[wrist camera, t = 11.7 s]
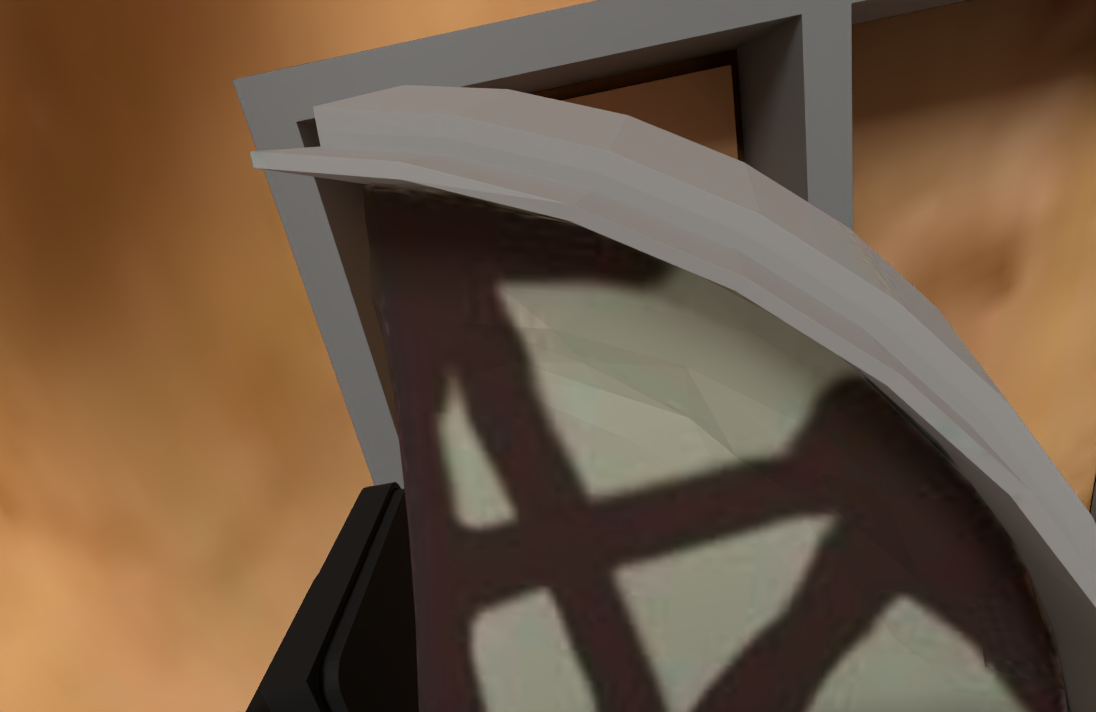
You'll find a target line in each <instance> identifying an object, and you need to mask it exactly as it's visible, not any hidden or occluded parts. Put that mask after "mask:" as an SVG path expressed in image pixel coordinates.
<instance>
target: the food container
mask: <svg viewBox="0 0 1096 712" xmlns="http://www.w3.org/2000/svg"><path fill="white" fill-rule="evenodd" d="M313 109H314V115H315V120H316V126H317V131H318V136H319V141H320V146H321V147H306V148H292V149H277V150H263V151H250V154H251V159H252V163H253V168H257V169H264V170H271V171H278V172H285V173H292V174H299V175H305V176H312V177H319V178H326V179H333V180H340V181H347V182H354V183H361V184H367V186H364V187H363V191H364V205H365V220H366V227H367V233H368V240H369V247H370V296H371V300H372V303H373V306H374V309H375V313H376V316H377V319H378V322H379V326H380V329H381V332H382V336H383V339H384V344H385V350H386V356H387V361H388V367H389V372H390V378H391V384H392V389H393V395H394V401H395V410H396V419H397V428H398V437H399V445H400V454H401V463H402V472H403V481H404V490H405V499H406V508H407V517H408V527H409V540H410V553H411V567H412V580H413V593H414V606H415V620H416V646H417V672H418V699H419V712H1096V524H1095V521H1094V519H1093V517H1092V515H1091V514H1090V513H1089V511H1088V510H1087V508H1086V507H1085V506H1084V504H1083V503H1082V502H1081V500H1080V499H1079V498H1078V496H1077V495H1076V493H1075V492H1074V491H1073V489H1072V488H1071V487H1070V485H1069V484H1068V483H1067V481H1066V480H1065V478H1064V477H1063V476H1062V474H1061V473H1060V472H1059V470H1058V469H1057V468H1056V466H1055V465H1054V463H1053V462H1052V461H1051V459H1050V458H1049V457H1048V455H1047V454H1046V453H1045V451H1044V450H1043V448H1042V447H1041V446H1040V444H1039V443H1038V442H1037V440H1036V439H1035V438H1034V436H1033V435H1032V433H1031V432H1030V431H1029V429H1028V428H1027V427H1026V425H1025V424H1024V423H1023V421H1022V420H1021V418H1020V417H1019V416H1018V414H1017V413H1016V412H1015V410H1014V409H1013V408H1012V406H1011V405H1010V404H1009V402H1008V401H1007V400H1006V398H1005V397H1004V396H1003V394H1002V393H1001V392H1000V390H999V389H998V388H997V386H996V385H995V384H994V382H993V381H992V380H991V378H990V377H989V376H988V374H987V373H986V372H985V370H984V369H983V368H982V366H981V365H980V364H979V362H978V361H977V360H976V358H975V357H974V356H973V354H972V353H971V352H970V350H969V349H968V348H967V346H966V345H965V344H964V342H963V341H962V340H961V338H960V337H959V336H958V334H957V333H956V332H955V330H954V329H953V328H952V326H951V325H950V324H949V322H948V321H947V320H946V318H945V317H944V316H943V314H942V313H941V312H940V310H939V309H938V308H937V307H936V306H935V305H934V304H933V303H931V302H930V301H929V300H928V299H927V298H926V297H925V296H924V295H923V294H922V293H920V292H919V291H918V290H917V289H916V288H915V287H914V286H913V285H912V284H911V283H909V282H908V281H907V280H906V279H905V278H904V277H903V276H902V275H901V274H900V273H898V272H897V271H896V270H895V269H894V268H893V267H892V266H891V265H890V264H889V263H887V262H886V261H885V260H884V259H883V258H882V257H881V256H880V255H879V254H878V253H876V252H875V251H874V250H873V249H872V248H871V247H870V246H869V245H868V244H866V243H865V242H864V241H863V240H862V239H861V238H860V237H859V236H858V235H857V234H855V233H854V232H853V231H852V230H851V229H850V228H848V227H847V226H845V225H844V224H842V223H840V222H839V221H837V220H836V219H834V218H832V217H831V216H829V215H828V214H826V213H824V212H823V211H821V210H820V209H818V208H816V207H815V206H813V205H812V204H810V203H808V202H807V201H805V200H804V199H802V198H800V197H799V196H797V195H796V194H794V193H792V192H791V191H789V190H788V189H786V188H784V187H783V186H781V185H780V184H778V183H776V182H775V181H773V180H772V179H770V178H768V177H767V176H765V175H764V174H762V173H760V172H759V171H757V170H756V169H754V168H752V167H751V166H749V165H748V164H746V163H744V162H742V161H739V160H737V159H735V158H732V157H730V156H727V155H725V154H722V153H720V152H717V151H715V150H712V149H710V148H707V147H705V146H703V145H700V144H698V143H695V142H693V141H690V140H688V139H685V138H683V137H680V136H678V135H675V134H673V133H671V132H668V131H666V130H663V129H661V128H658V127H656V126H653V125H651V124H648V123H646V122H643V121H641V120H639V119H636V118H634V117H631V116H629V115H625V114H620V113H615V112H611V111H606V110H602V109H597V108H592V107H588V106H583V105H578V104H574V103H569V102H565V101H560V100H555V99H551V98H546V97H542V96H537V95H532V94H528V93H523V92H519V91H514V90H509V89H491V88H467V87H442V86H418V85H402V86H397V87H393V88H389V89H385V90H381V91H376V92H372V93H368V94H364V95H360V96H355V97H351V98H347V99H343V100H339V101H334V102H330V103H326V104H322V105H318V106H313Z"/></svg>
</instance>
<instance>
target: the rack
mask: <svg viewBox="0 0 1096 712" xmlns="http://www.w3.org/2000/svg"><path fill="white" fill-rule="evenodd" d="M962 1H966V0H597V1H592V2H588V3H583V4H579V5H574V6H569V7H565V8H560V9H556V10H551V11H546V12H542V13H537V14H533V15H528V16H523V17H519V18H514V19H510V20H505V21H500V22H496V23H491V24H487V25H482V26H477V27H473V28H468V29H464V30H459V31H454V32H450V33H445V34H441V35H436V36H431V37H427V38H422V39H418V40H413V41H408V42H404V43H399V44H394V45H390V46H385V47H381V48H376V49H371V50H367V51H362V52H358V53H353V54H348V55H344V56H339V57H335V58H330V59H325V60H321V61H316V62H312V63H307V64H302V65H298V66H293V67H289V68H284V69H279V70H275V71H270V72H266V73H261V74H256V75H252V76H247V77H243V78H238V79H233V80H232V81H233V84H234V86H235V89H236V92H237V95H238V98H239V101H240V104H241V106H242V109H243V112H244V115H245V118H246V121H247V123H248V126H249V129H250V132H251V135H252V138H253V141H254V143H255V146H256V149H257V151H263V150H277V149H292V148H306V147H321V146H320V141H319V136H318V131H317V126H316V120H315V115H314V109H313V106H318V105H322V104H326V103H330V102H334V101H339V100H343V99H347V98H351V97H355V96H360V95H364V94H368V93H372V92H376V91H381V90H385V89H389V88H393V87H397V86H402V85H418V86H442V87H467V88H491V89H509V90H514V91H519V92H523V93H532V92H537V91H542V90H547V89H551V88H556V87H561V86H565V85H570V84H575V83H580V82H584V81H589V80H594V79H598V78H603V77H608V76H613V75H617V74H622V73H627V72H631V71H636V70H641V69H646V68H650V67H655V66H660V65H665V64H669V63H674V62H679V61H683V60H688V59H693V58H698V57H702V56H707V55H712V54H716V53H721V52H726V51H731V50H735V49H737V60H738V75H739V89H740V103H741V118H742V132H743V147H744V161H745V163H746V164H748V165H749V166H751V167H752V168H754V169H756V170H757V171H759V172H760V173H762V174H764V175H765V176H767V177H768V178H770V179H772V180H773V181H775V182H776V183H778V184H780V185H781V186H783V187H784V188H786V189H788V190H789V191H791V192H792V193H794V194H796V195H797V196H799V197H800V198H802V199H804V200H805V201H807V202H808V203H810V204H812V205H813V206H815V207H816V208H818V209H820V210H821V211H823V212H824V213H826V214H828V215H829V216H831V217H832V218H834V219H836V220H837V221H839V222H840V223H842V224H844V225H845V226H847V227H848V228H850V229H851V230H852V231H853V178H852V27H851V25H853V24H858V23H863V22H867V21H872V20H877V19H882V18H886V17H891V16H896V15H900V14H905V13H910V12H915V11H919V10H924V9H929V8H933V7H938V6H943V5H948V4H952V3H957V2H962ZM562 101H565V102H569V103H574V104H578V105H583V106H588V107H592V108H597V109H602V110H606V111H611V112H615V113H620V114H625V115H629V116H631V117H634V118H636V119H639V120H641V121H643V122H646V123H648V124H651V125H653V126H656V127H658V128H661V129H663V130H666V131H668V132H671V133H673V134H675V135H678V136H680V137H683V138H685V139H688V140H690V141H693V142H695V143H698V144H700V145H703V146H705V147H707V148H710V149H712V150H715V151H717V152H720V153H722V154H725V155H727V156H730V157H732V158H735V159H737V160H738V153H737V139H736V126H735V112H734V98H733V85H732V71H731V65H728V66H723V67H718V68H714V69H709V70H704V71H699V72H695V73H690V74H685V75H680V76H676V77H671V78H666V79H661V80H657V81H652V82H647V83H642V84H638V85H633V86H628V87H623V88H619V89H614V90H609V91H605V92H600V93H595V94H590V95H586V96H581V97H576V98H571V99H567V100H562ZM264 172H265V175H266V178H267V180H268V183H269V186H270V189H271V192H272V195H273V198H274V200H275V203H276V206H277V209H278V212H279V215H280V218H281V220H282V223H283V226H284V229H285V232H286V235H287V237H288V240H289V243H290V246H291V249H292V252H293V255H294V257H295V260H296V263H297V266H298V269H299V272H300V275H301V277H302V280H303V283H304V286H305V289H306V292H307V294H308V297H309V300H310V303H311V306H312V309H313V312H314V314H315V317H316V320H317V323H318V326H319V329H320V331H321V334H322V337H323V340H324V343H325V346H326V349H327V351H328V354H329V357H330V360H331V363H332V366H333V369H334V371H335V374H336V377H337V380H338V383H339V386H340V388H341V391H342V394H343V397H344V400H345V403H346V406H347V408H348V411H349V414H350V417H351V420H352V423H353V426H354V428H355V431H356V434H357V437H358V440H359V443H360V445H361V448H362V451H363V454H364V457H365V460H366V463H367V465H368V468H369V471H370V474H371V477H372V480H373V483H374V485H375V486H376V485H381V484H387V483H392V482H396V483H398V484H399V486H400V487H401V489H404V481H403V472H402V463H401V454H400V445H399V437H398V428H397V419H396V410H395V401H394V395H393V389H392V384H391V378H390V372H389V367H388V361H387V356H386V350H385V344H384V339H383V336H382V332H381V329H380V326H379V322H378V319H377V316H376V313H375V309H374V306H373V303H372V300H371V296H370V247H369V240H368V233H367V227H366V220H365V205H364V191H363V187H364V186H367V184H361V183H354V182H347V181H340V180H333V179H326V178H319V177H312V176H305V175H299V174H292V173H285V172H278V171H271V170H264ZM1090 514H1091V515H1092V517H1093V519H1094V521H1095V524H1096V483H1095V489H1094V495H1093V501H1092V507H1091V513H1090Z"/></svg>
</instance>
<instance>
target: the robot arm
mask: <svg viewBox="0 0 1096 712" xmlns="http://www.w3.org/2000/svg"><path fill="white" fill-rule="evenodd" d="M246 712H419V699H418V672H417V646H416V620H415V606H414V593H413V580H412V567H411V553H410V540H409V527H408V517H407V508H406V499H405V490H404V489H401V487H400V486H399V484H398V483H396V482H392V483H387V484H381V485H376V486H370V487H366V488H363V490H362V491H361V493H360V494H359V496H358V498H357V500H356V502H355V504H354V506H353V508H352V510H351V512H350V514H349V516H348V518H347V520H346V522H345V524H344V526H343V528H342V529H341V531H340V533H339V535H338V537H337V539H336V541H335V543H334V545H333V547H332V549H331V551H330V553H329V555H328V557H327V559H326V561H325V562H324V564H323V566H322V568H321V570H320V572H319V574H318V575H317V577H316V578H315V579H314V581H313V583H312V585H311V587H310V589H309V591H308V593H307V594H306V596H305V598H304V600H303V602H302V604H301V606H300V608H299V610H298V612H297V614H296V616H295V618H294V620H293V621H292V623H291V625H290V627H289V629H288V631H287V633H286V635H285V637H284V639H283V641H282V643H281V645H280V647H279V648H278V650H277V652H276V654H275V656H274V658H273V660H272V662H271V664H270V666H269V668H268V670H267V672H266V674H265V675H264V677H263V679H262V681H261V683H260V685H259V687H258V689H257V691H256V693H255V695H254V697H253V699H252V701H251V703H250V704H249V706H248V708H247V710H246Z"/></svg>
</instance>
